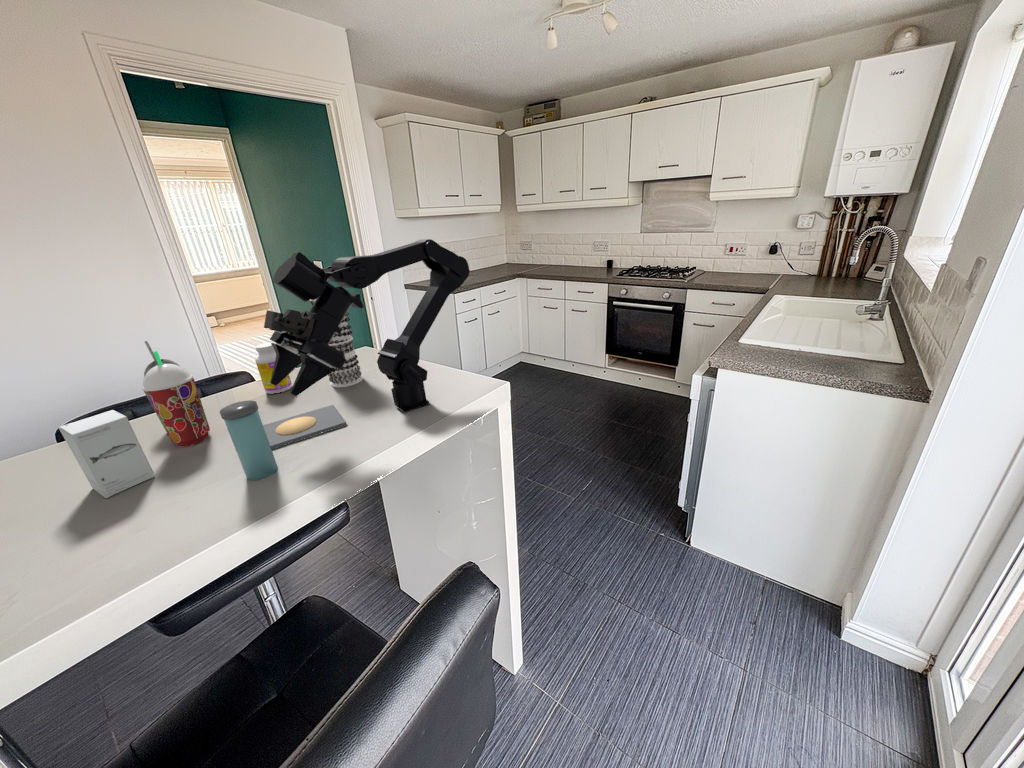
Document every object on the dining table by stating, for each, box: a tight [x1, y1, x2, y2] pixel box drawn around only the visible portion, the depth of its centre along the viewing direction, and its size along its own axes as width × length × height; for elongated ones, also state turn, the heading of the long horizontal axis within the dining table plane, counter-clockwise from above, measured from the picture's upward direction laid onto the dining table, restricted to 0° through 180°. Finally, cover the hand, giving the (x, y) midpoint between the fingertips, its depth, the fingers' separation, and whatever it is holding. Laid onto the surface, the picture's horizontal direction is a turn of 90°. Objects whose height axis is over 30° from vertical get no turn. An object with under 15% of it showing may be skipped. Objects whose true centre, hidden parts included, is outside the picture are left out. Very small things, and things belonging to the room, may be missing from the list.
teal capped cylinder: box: [219, 399, 278, 481], centre depth 72 cm, size 5×5×13 cm
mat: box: [263, 404, 348, 450], centre depth 89 cm, size 18×12×1 cm, turn 125°
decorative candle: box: [309, 299, 363, 388], centre depth 109 cm, size 9×9×25 cm
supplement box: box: [58, 409, 156, 499], centre depth 72 cm, size 7×7×13 cm
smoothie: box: [141, 350, 211, 448], centre depth 84 cm, size 8×8×20 cm
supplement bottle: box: [254, 341, 293, 395], centre depth 110 cm, size 7×7×13 cm
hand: (282, 389), depth 74 cm, fingers open, 9 cm apart
